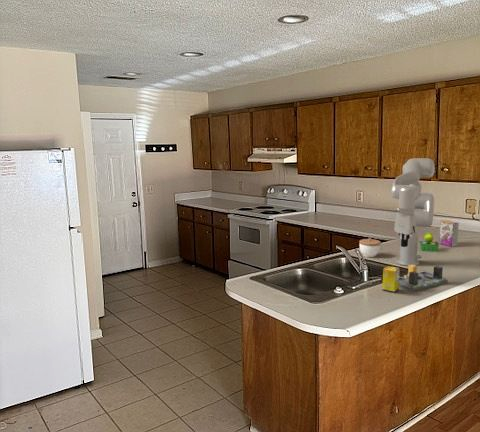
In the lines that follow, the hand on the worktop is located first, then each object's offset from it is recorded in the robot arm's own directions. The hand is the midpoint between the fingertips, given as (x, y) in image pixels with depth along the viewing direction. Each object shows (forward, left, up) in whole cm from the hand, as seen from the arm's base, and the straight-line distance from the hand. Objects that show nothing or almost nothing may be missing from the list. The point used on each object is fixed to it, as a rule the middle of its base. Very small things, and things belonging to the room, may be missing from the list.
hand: (404, 246), depth 228 cm
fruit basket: (-59, -30, -17) cm, 68 cm away
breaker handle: (0, +6, -15) cm, 16 cm away
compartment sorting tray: (0, +10, -17) cm, 20 cm away
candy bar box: (-81, -32, -17) cm, 89 cm away
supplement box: (+20, +10, -17) cm, 28 cm away
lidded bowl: (-17, -40, -17) cm, 46 cm away
